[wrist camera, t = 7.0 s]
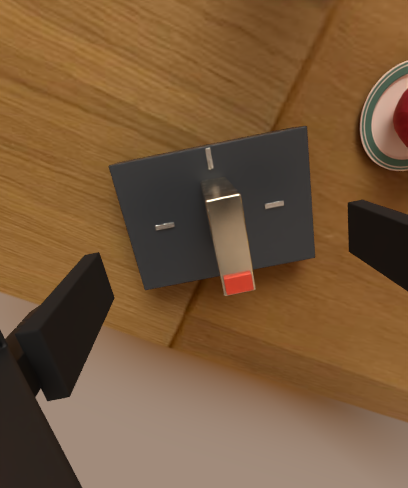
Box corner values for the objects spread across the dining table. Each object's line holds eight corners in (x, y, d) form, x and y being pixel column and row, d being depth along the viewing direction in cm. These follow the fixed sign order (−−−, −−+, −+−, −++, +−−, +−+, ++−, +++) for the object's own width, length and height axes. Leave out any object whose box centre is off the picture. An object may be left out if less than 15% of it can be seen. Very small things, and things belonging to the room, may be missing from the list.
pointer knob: (199, 181, 21) (205, 201, 14) (224, 176, 21) (241, 194, 14) (214, 251, 23) (225, 299, 16) (237, 246, 23) (257, 292, 16)
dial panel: (149, 274, 27) (144, 291, 24) (117, 162, 23) (107, 166, 20) (302, 245, 26) (316, 258, 23) (292, 127, 23) (308, 125, 20)
